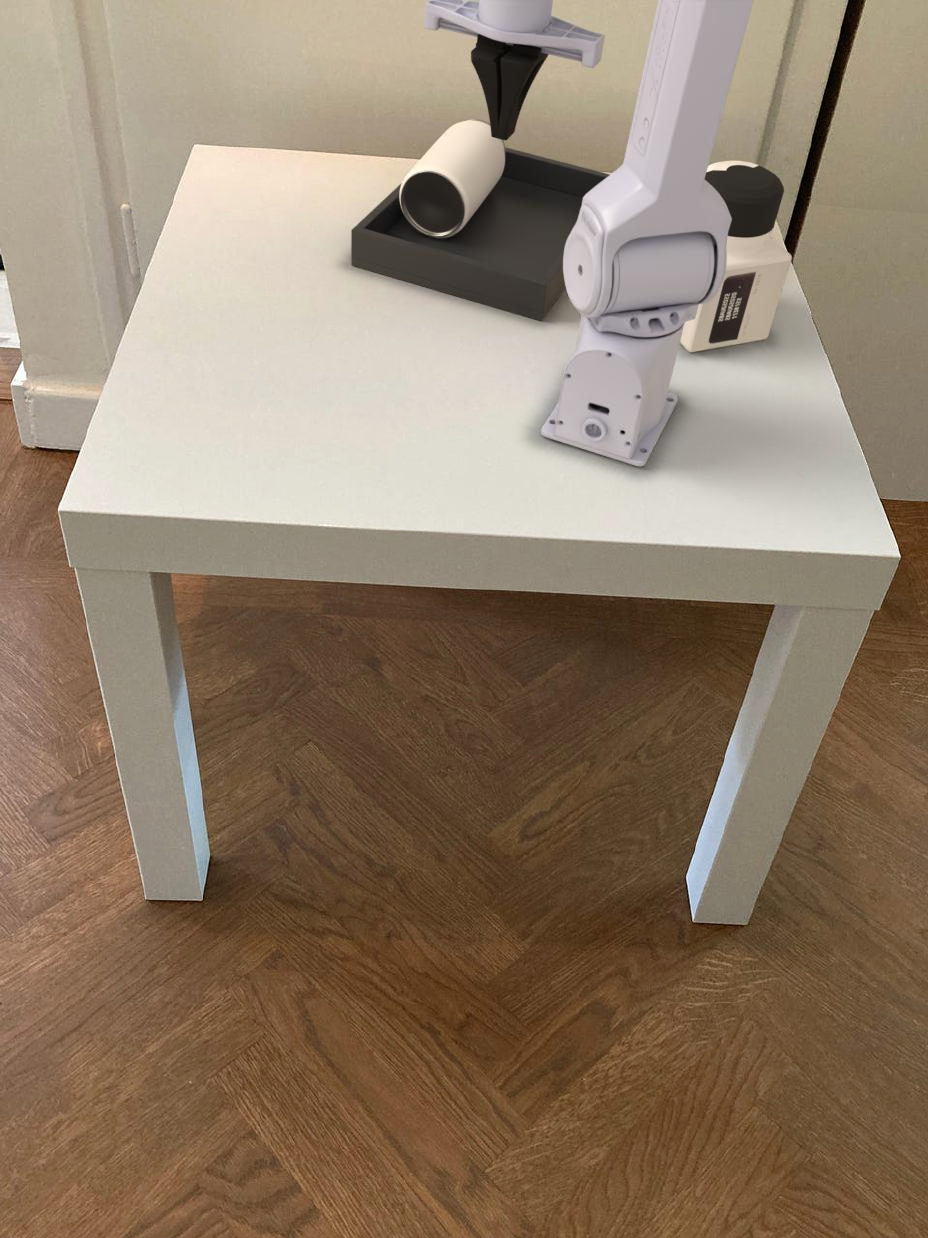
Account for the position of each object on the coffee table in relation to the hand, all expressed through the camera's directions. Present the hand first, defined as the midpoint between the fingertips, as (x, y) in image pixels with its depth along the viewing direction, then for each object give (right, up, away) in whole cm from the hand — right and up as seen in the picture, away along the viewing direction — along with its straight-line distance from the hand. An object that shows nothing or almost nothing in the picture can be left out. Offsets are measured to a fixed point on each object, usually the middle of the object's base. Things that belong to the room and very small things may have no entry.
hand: (502, 134), depth 97 cm
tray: (-1, -6, +7) cm, 9 cm away
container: (+17, -16, 0) cm, 23 cm away
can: (-6, -5, +2) cm, 8 cm away
